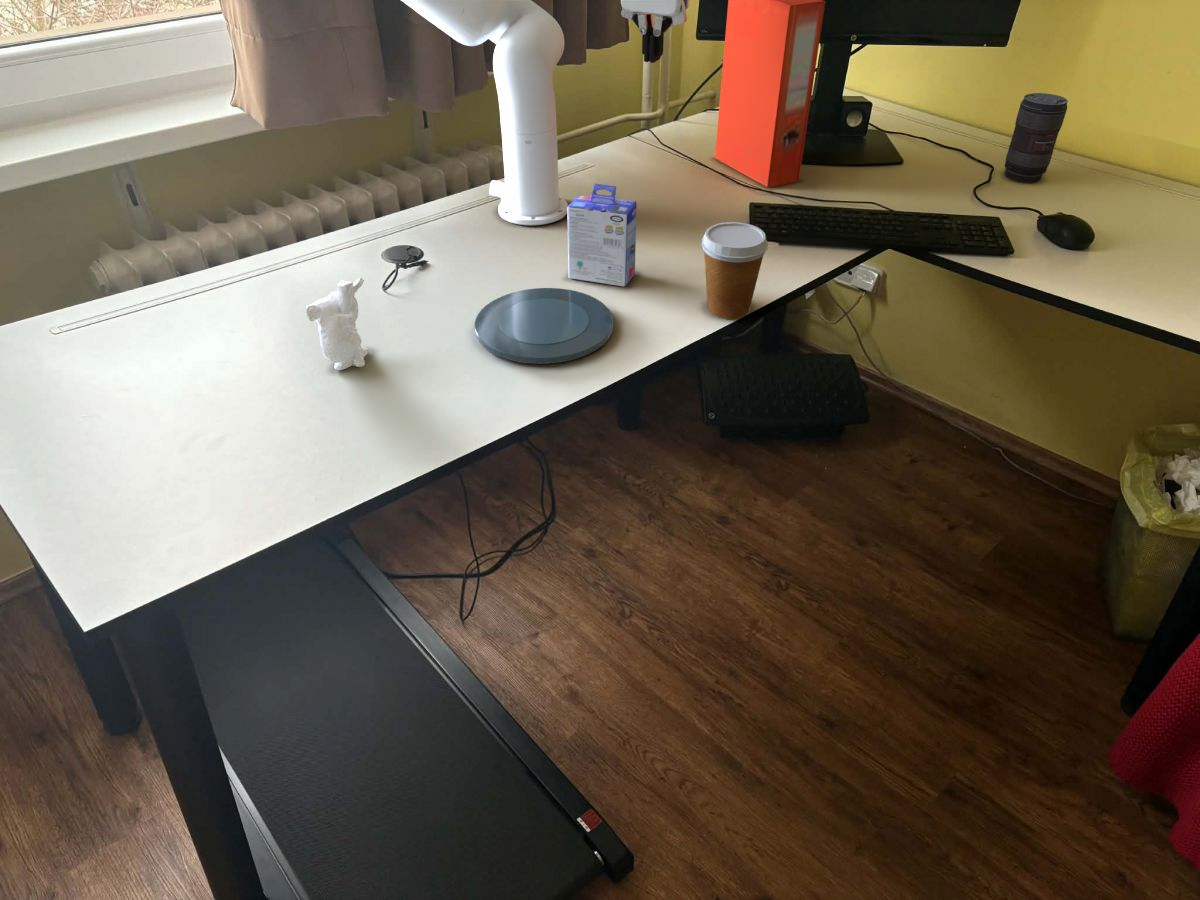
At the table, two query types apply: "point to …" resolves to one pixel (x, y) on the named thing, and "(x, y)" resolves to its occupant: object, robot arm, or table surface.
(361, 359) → the white upright lumpy figure
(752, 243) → the disposable coffee cup
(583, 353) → the plate
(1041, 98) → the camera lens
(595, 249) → the ink cartridge box
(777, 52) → the file binder
